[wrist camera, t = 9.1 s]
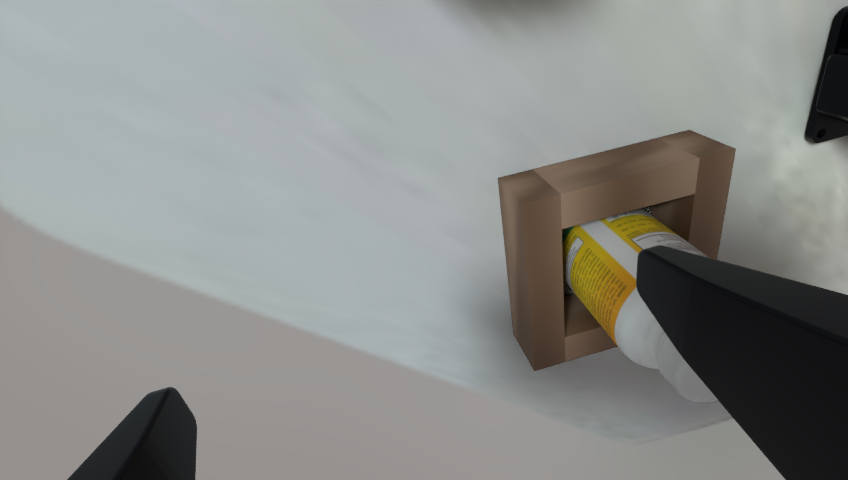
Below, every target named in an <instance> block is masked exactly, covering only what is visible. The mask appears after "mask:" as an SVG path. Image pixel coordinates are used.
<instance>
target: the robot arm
mask: <svg viewBox="0 0 848 480" xmlns="http://www.w3.org/2000/svg"><path fill="white" fill-rule="evenodd" d="M847 18H848V6H846V7H844V8H842V9H841V10H840V11H839V12H838V13H837V15H836V16H835V19H834V22H833V26H832V30H831V34H830V38H829V42H828V46H827V50H826V54H825V58H824V62H823V66H822V70H821V74H820V78H819V83H818V87H817V91H816V95H815V99H814V103H813V107H812V111H811V115H810V119H809V123H808V127H807V131H806V139H807V140H809V141H812V142H815V143H820V142H823V141H827V140H831V139H835V138H839V137H843V136H846V135H848V19H847ZM636 287H637V291H638V293H639V295H640V297H641V298H642V300H643V301H644V303H645V304H646V306H647V307H648V309H649V310H650V312H651V313H652V314H653V316H654V317H655V319H656V320H657V322H658V323H659V325H660V326H661V328H662V329H663V331H664V332H665V334H666V335H667V336H668V338H669V339H670V341H671V342H672V344H673V345H674V347H675V348H676V349H677V351H678V352H679V354H680V355H681V356H682V358H683V359H684V360H685V361H686V363H687V364H688V365H689V366H690V367H691V369H692V370H693V371H694V372H695V373H696V375H697V376H698V377H699V378H700V379H701V380H702V382H703V383H704V384H705V385H706V386H707V387H708V389H709V390H710V391H711V392H712V393H713V395H714V396H715V397H716V398H717V399H718V400H719V402H720V403H721V404H722V405H723V406H724V408H725V409H726V410H727V411H728V412H729V413H730V415H731V416H732V417H733V418H734V419H735V420H736V422H737V423H738V424H739V425H740V426H741V427H742V429H743V430H744V431H745V432H746V433H747V434H748V436H749V437H750V438H751V439H752V441H753V442H754V443H755V444H756V445H757V446H758V448H759V449H760V450H761V451H762V452H763V453H764V455H765V456H766V457H767V458H768V459H769V461H770V462H771V463H772V464H773V465H774V466H775V468H776V469H777V470H778V471H779V472H780V473H781V474H782V476H783V477H784V478H785V479H786V480H848V295H845V294H842V293H838V292H834V291H830V290H827V289H823V288H819V287H816V286H812V285H808V284H804V283H801V282H797V281H793V280H790V279H786V278H782V277H778V276H775V275H771V274H767V273H764V272H760V271H756V270H752V269H749V268H745V267H741V266H737V265H734V264H730V263H726V262H723V261H719V260H715V259H711V258H708V257H704V256H700V255H697V254H693V253H689V252H685V251H682V250H678V249H674V248H671V247H667V246H663V245H657V246H653V247H650V248H646V249H643V250H641V251H640V252H639V254H638V258H637V275H636ZM196 441H197V425H196V420H195V417H194V415H193V414H192V412H191V411H190V409H189V408H188V406H187V404H186V403H185V401H184V400H183V398H182V397H181V395H180V394H179V392H178V391H177V390H176V389H175V388H173V387H168V388H165V389H161V390H158V391H154V392H151V393H149V394H147V395H146V396H145V397H144V398H143V399H142V400H141V401H140V402H139V404H138V405H137V406H136V407H135V408H134V409H133V410H132V411H131V412H130V413H129V414H128V415H127V416H126V417H125V418H124V420H123V421H122V422H121V423H120V424H119V425H118V426H117V427H116V428H115V429H114V430H113V431H112V432H111V434H110V435H109V436H108V437H107V438H106V439H105V440H104V441H103V442H102V443H101V444H100V445H99V446H98V447H97V448H96V450H95V451H94V452H93V453H92V454H91V455H90V456H89V457H88V458H87V459H86V460H85V461H84V462H83V463H82V464H81V465H80V467H79V468H78V469H77V470H76V471H75V472H74V473H73V474H72V475H71V476H70V477H69V478H68V480H195V471H196Z"/></svg>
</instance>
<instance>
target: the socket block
mask: <svg viewBox="0 0 848 480" xmlns="http://www.w3.org/2000/svg"><path fill="white" fill-rule="evenodd" d="M735 150H736V149H735V148H732V147H730V146H728V145H725V144H723V143H720V142H718V141H715V140H713V139H710V138H708V137H706V136H703V135H701V134H698V133H696V132H693V131H691V130H687V131H683V132H679V133H675V134H671V135H667V136H663V137H659V138H655V139H652V140H648V141H644V142H640V143H636V144H632V145H628V146H624V147H620V148H616V149H612V150H608V151H604V152H600V153H596V154H592V155H588V156H584V157H580V158H576V159H572V160H568V161H564V162H560V163H556V164H552V165H548V166H544V167H540V168H536V169H532V170H528V171H524V172H520V173H516V174H512V175H508V176H504V177H500V178H498V184H499V194H500V204H501V214H502V224H503V234H504V244H505V254H506V264H507V274H508V284H509V293H510V303H511V313H512V323H513V333H514V336H515V338H516V339H517V341H518V343H519V345H520V346H521V348H522V350H523V352H524V353H525V355H526V357H527V359H528V360H529V362H530V364H531V366H532V367H533V369H534V371H536V370H539V369H543V368H546V367H549V366H553V365H556V364H560V363H563V362H566V361H570V360H573V359H577V358H580V357H583V356H587V355H590V354H594V353H597V352H600V351H604V350H607V349H611V348H614V347H618V346H617V345H616V344H615V343H614V341H613V340H612V339H611V337H610V336H609V335H608V334H607V332H606V331H605V330H604V329H603V327H602V326H601V325H600V324H599V323H598V321H597V320H596V319H595V318H594V316H593V315H592V314H591V313H590V311H589V310H588V309H587V308H586V307H585V305H584V304H583V303H582V302H581V301H580V299H579V298H578V297H577V296H576V294H571V295H568V296H564V292H563V255H562V229H564V228H568V227H572V226H576V225H579V224H583V223H587V222H591V221H595V220H598V219H602V218H606V217H610V216H613V215H617V214H621V213H625V212H628V211H632V210H636V209H640V208H643V207H647V206H651V205H652V207H651V216H653V217H654V218H656V219H657V220H658V221H660V222H661V223H662V224H664V225H665V226H666V227H668V228H669V229H671V230H672V231H673V232H675V233H676V234H677V235H679V236H680V237H682V238H683V239H684V240H686V241H687V242H689V243H690V244H691V245H693V246H694V247H695V248H697V249H698V250H700V251H701V252H702V253H704V254H705V255H706V256H708V257H709V258H711V259H715V260H717V255H718V249H719V244H720V238H721V232H722V226H723V220H724V214H725V209H726V203H727V197H728V191H729V185H730V180H731V174H732V168H733V162H734V156H735Z"/></svg>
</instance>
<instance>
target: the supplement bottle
mask: <svg viewBox="0 0 848 480" xmlns="http://www.w3.org/2000/svg"><path fill="white" fill-rule="evenodd" d="M657 245H663V246H667V247H671V248H674V249H678V250H682V251H685V252H689V253H693V254H697V255H700V256H704V257H708V256H706V255H705V254H704V253H702V252H701V251H700V250H698V249H697V248H695V247H694V246H693V245H691V244H690V243H689V242H687V241H686V240H684V239H683V238H682V237H680V236H679V235H677V234H676V233H675V232H673V231H672V230H671V229H669V228H668V227H666V226H665V225H664V224H662V223H661V222H660V221H658V220H657V219H656V218H654V217H653V216H651V215H650V214H649V213H647V212H646V211H645V210H643V209H642V208H640V209H636V210H632V211H628V212H625V213H621V214H617V215H613V216H610V217H606V218H602V219H598V220H595V221H591V222H587V223H583V224H579V225H576V226H572V227H568V228H564V229H562V255H563V280H564V281H565V282H566V283H567V285H568V286H569V287H570V288H571V289H572V291H573V292H574V293H575V294H576V296H577V297H578V298H579V299H580V301H581V302H582V303H583V304H584V305H585V307H586V308H587V309H588V310H589V311H590V313H591V314H592V315H593V316H594V318H595V319H596V320H597V321H598V323H599V324H600V325H601V326H602V327H603V329H604V330H605V331H606V332H607V334H608V335H609V336H610V337H611V339H612V340H613V341H614V343H615V344H616V345H617V346H618V347H619V349H620V350H621V351H622V352H623V353H624V354H625V355H626V356H627V357H628V358H629V359H630V360H632V361H633V362H635V363H637V364H639V365H641V366H644V367H647V368H651V369H659V371H660V373H661V375H662V376H663V377H664V378H665V379H666V380H667V381H668V382H669V383H670V384H671V385H672V387H673V388H674V389H675V390H676V391H677V392H678V393H679V394H680V395H681V396H682V397H684V398H685V399H687V400H689V401H692V402H697V403H708V402H714V401H718V399H717V398H716V397H715V396H714V395H713V393H712V392H711V391H710V390H709V389H708V387H707V386H706V385H705V384H704V383H703V382H702V380H701V379H700V378H699V377H698V376H697V375H696V373H695V372H694V371H693V370H692V369H691V367H690V366H689V365H688V364H687V363H686V361H685V360H684V359H683V358H682V356H681V355H680V354H679V352H678V351H677V349H676V348H675V347H674V345H673V344H672V342H671V341H670V339H669V338H668V336H667V335H666V334H665V332H664V331H663V329H662V328H661V326H660V325H659V323H658V322H657V320H656V319H655V317H654V316H653V314H652V313H651V312H650V310H649V309H648V307H647V306H646V304H645V303H644V301H643V300H642V298H641V297H640V295H639V293H638V291H637V287H636V275H637V258H638V254H639V252H640V251H641V250H643V249H646V248H650V247H653V246H657ZM708 258H709V257H708Z"/></svg>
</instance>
